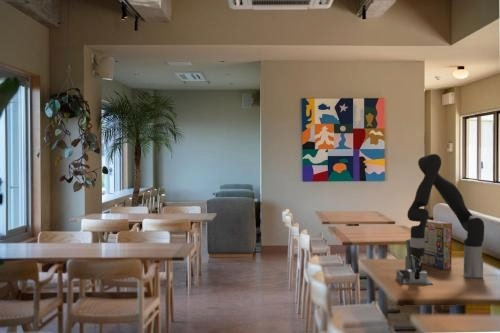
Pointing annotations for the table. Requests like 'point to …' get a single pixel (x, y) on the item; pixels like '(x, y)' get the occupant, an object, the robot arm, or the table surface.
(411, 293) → the table surface
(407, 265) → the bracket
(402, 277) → the grey l-shaped slot base
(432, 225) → the board game box
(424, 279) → the l bracket
